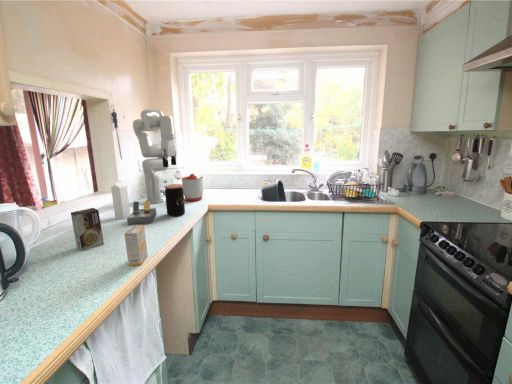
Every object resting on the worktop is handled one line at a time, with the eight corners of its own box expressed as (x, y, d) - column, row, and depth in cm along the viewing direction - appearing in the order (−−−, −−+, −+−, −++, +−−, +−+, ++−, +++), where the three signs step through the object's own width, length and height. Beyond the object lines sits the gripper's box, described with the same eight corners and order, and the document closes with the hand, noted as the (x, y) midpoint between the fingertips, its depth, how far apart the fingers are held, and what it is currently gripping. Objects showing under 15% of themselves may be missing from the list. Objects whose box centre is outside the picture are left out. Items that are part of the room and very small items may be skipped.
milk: (115, 218, 158) (109, 182, 153) (122, 215, 163) (117, 180, 159) (124, 219, 156) (118, 182, 152) (131, 216, 162) (126, 180, 157)
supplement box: (135, 256, 106) (131, 225, 104) (148, 256, 107) (144, 224, 104) (127, 266, 98) (123, 232, 95) (141, 265, 99) (137, 232, 96)
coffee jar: (180, 217, 157) (177, 187, 154) (163, 216, 159) (160, 187, 156) (188, 212, 168) (186, 184, 164) (172, 211, 170) (170, 183, 166)
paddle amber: (144, 212, 155) (144, 201, 157) (150, 212, 155) (150, 201, 157) (143, 212, 153) (144, 201, 155) (149, 211, 154) (149, 200, 156)
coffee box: (98, 241, 124) (93, 207, 120) (104, 244, 119) (99, 209, 116) (76, 247, 117) (70, 212, 113) (81, 251, 113) (75, 214, 109)
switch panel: (135, 215, 162) (135, 209, 161) (156, 214, 164) (155, 207, 163) (127, 225, 145) (126, 217, 144) (151, 223, 147) (150, 216, 146)
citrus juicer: (210, 198, 205) (208, 172, 201) (193, 203, 191) (191, 175, 186) (195, 196, 213) (193, 171, 209) (178, 200, 199) (176, 174, 195)
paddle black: (133, 213, 154) (133, 202, 156) (139, 213, 154) (139, 202, 156) (132, 212, 152) (133, 201, 154) (138, 212, 153) (138, 201, 155)
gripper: (168, 137, 168) (171, 164, 172) (153, 137, 151) (156, 167, 155) (180, 137, 167) (182, 164, 170) (166, 137, 150) (168, 167, 154)
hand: (169, 165), depth 163 cm, fingers open, 9 cm apart
